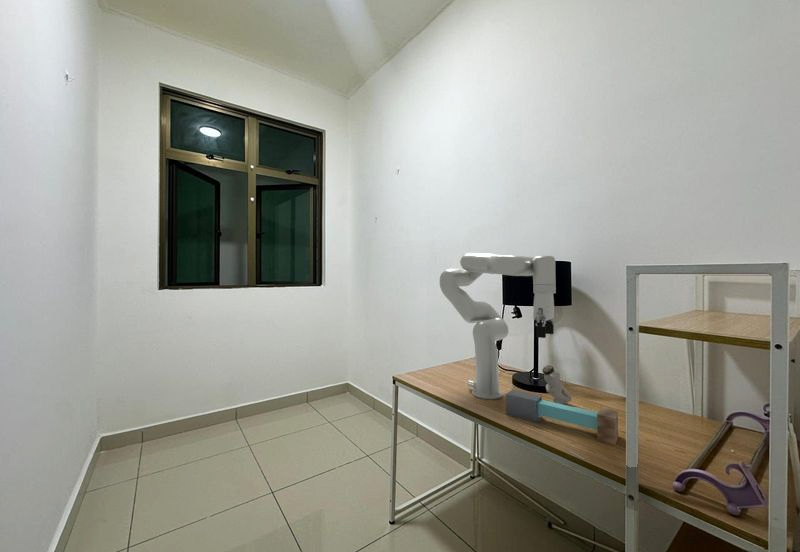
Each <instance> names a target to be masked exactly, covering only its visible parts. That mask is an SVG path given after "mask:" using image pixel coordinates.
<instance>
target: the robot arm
mask: <svg viewBox="0 0 800 552" xmlns="http://www.w3.org/2000/svg"><path fill="white" fill-rule="evenodd" d="M459 263H460V267H461V268H448V269H446V270H443V271H442V272H441V273H440V276H439V287H440V290H441V293H442V294H443V296H445V298H446V299H447V300H448V301H449V303H450V304H451V305H453V307H454V309H455V310H456V312H458V314H459V315H460V316H461V318H462V319H463V320H464V321H465V322H466V323H467V324H474V326H473V329H472V336H473V337H472V338H473V342H474V355H475V356H474V358H475V360H474V361H475V366H474V367H475V368H474V369H475V381H473V380H471V379H470V380H468V382H467V386H468V387H471V388H472V390H471V393H472V395H473V396H475V398H476V397H477V398H478V399H483V400H498V399H501V398H502V397H503V395H504V394H503V391H502V390H500V389H499V387H500V385H499V382H500V381H499V379H500V378H499V349H498V347H497V345H496V342H498V341H502V340H504V339H506V338H507V336H508V334H509V326H508V324H507V322H506V321H505V320H504V319H503V317H502V316H501V315H500V314H499V312H498V311H496V310H495V308H494V307H493V306H492V305H491V304H489V303H488V302H486V301H483V300H481V301H475V300H473V298H472V297H470V295H469V294H468V293H467V291H465V290H464V289H462V288H461V287H469V286H470V285H471V284H473V283H474V282H475V281H476V280H477V279H479V278H480V276H482V275H483V274H490V275H495V274H496V275H503V276H512V277H514V276H515V277H532V281H533V282H532V283H533V284H532V285H533V294H534V296H533V312H532V313H533V314H532V316H533V317H532V319H533V320H534V321H535V337H536V338H541V339H545V338H546V337H547V335H554V333H555V331H554V330H555V329H554V318H555V303H554V302H555V299H554V298H555V297H554V294H557V293H556V292H557V291H556V290H557V287H556V286H557V285H556V282H557V281H556V279H557V278H556V258H555V257H554V256H553V255H537V256H535V257H533V256H523V255H520V256H519V255H503V254H496V253H487V252H486V253H485V252H484V253H483V252H481V253H478V252H468V253H465V254H464V255H462V256H461V258H460V261H459Z"/></svg>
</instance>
